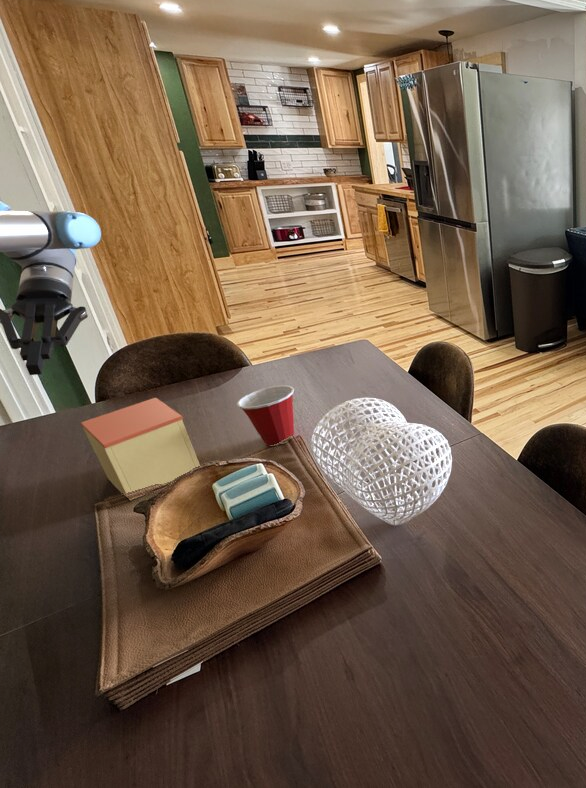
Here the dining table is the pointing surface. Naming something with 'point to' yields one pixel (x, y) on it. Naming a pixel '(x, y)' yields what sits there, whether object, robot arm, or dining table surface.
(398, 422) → the heart
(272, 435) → the plastic cup
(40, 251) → the robot arm
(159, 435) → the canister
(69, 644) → the dining table surface
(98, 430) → the lid
